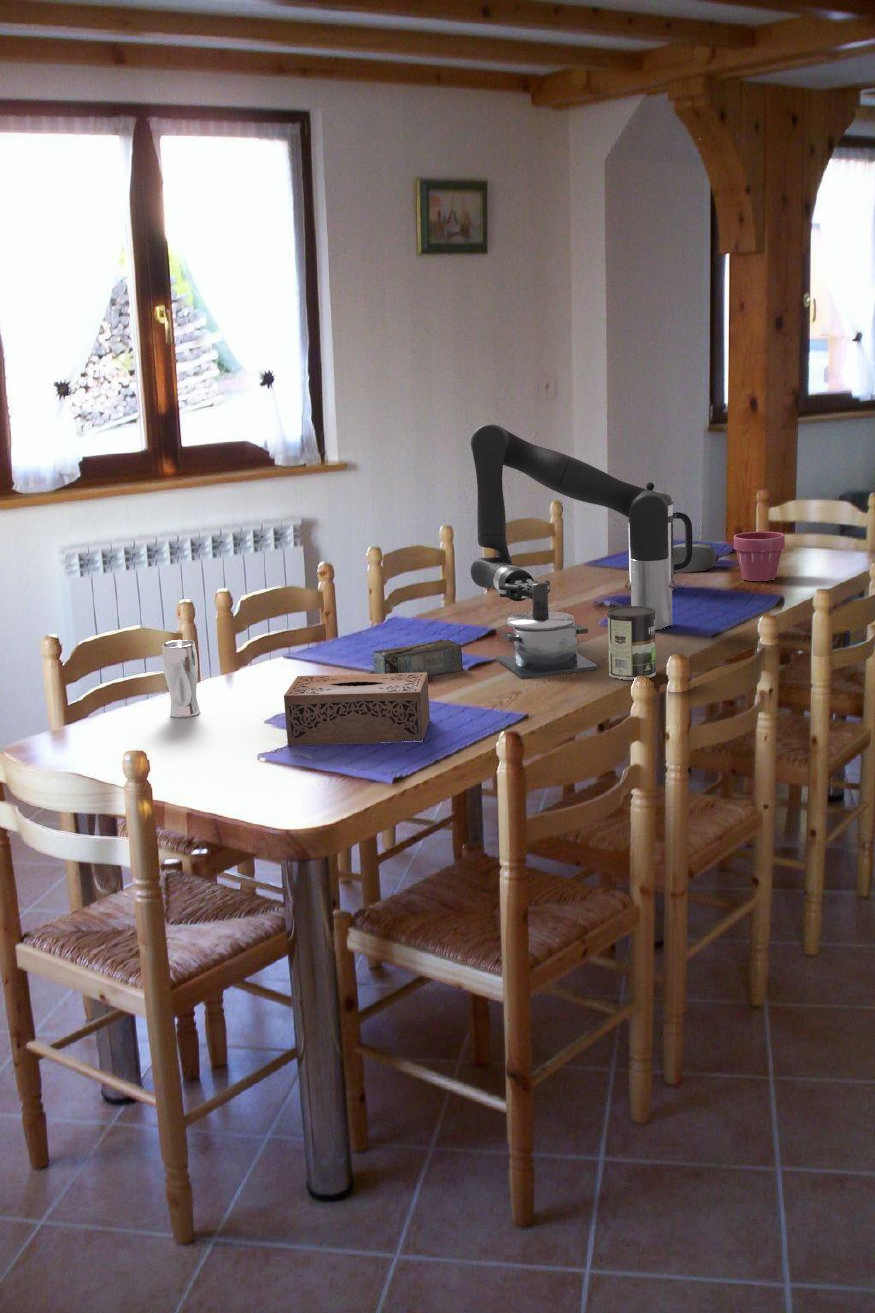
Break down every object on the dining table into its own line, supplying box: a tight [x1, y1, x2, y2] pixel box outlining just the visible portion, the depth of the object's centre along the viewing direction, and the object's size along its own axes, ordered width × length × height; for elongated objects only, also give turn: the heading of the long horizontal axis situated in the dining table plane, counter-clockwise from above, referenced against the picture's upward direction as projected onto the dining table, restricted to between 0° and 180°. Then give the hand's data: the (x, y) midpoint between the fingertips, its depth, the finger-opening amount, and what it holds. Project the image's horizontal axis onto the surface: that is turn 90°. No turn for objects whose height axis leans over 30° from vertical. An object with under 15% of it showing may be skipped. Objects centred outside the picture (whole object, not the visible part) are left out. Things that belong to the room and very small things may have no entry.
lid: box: [506, 581, 575, 630], centre depth 310 cm, size 15×15×9 cm
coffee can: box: [606, 605, 657, 681], centre depth 297 cm, size 10×10×14 cm
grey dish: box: [673, 543, 720, 574], centre depth 412 cm, size 18×11×8 cm, turn 81°
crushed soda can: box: [161, 639, 201, 719], centre depth 284 cm, size 7×7×15 cm
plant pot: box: [733, 531, 786, 581], centre depth 390 cm, size 14×14×13 cm
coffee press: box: [624, 481, 693, 590], centre depth 383 cm, size 17×16×30 cm
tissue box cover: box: [283, 672, 431, 746], centre depth 266 cm, size 26×14×10 cm, turn 85°
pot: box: [495, 622, 599, 679], centre depth 309 cm, size 19×18×9 cm
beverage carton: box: [372, 638, 464, 677], centre depth 308 cm, size 8×19×7 cm, turn 113°
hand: (537, 595), depth 311 cm, fingers closed
